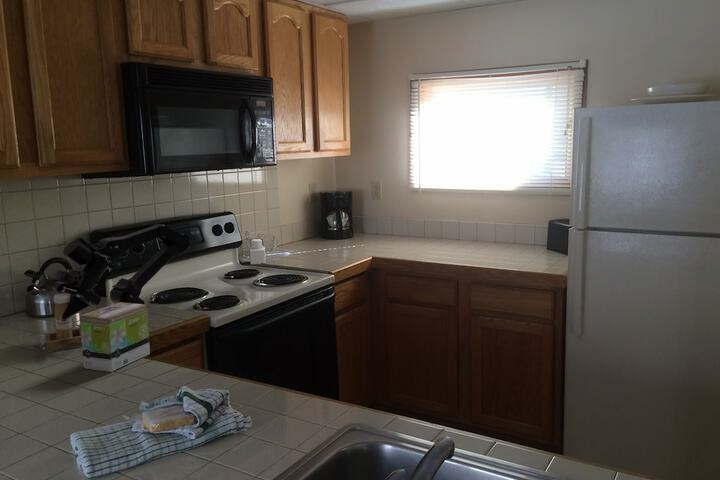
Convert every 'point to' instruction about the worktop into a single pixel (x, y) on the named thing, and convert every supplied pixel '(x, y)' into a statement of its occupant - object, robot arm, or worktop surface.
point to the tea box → (114, 336)
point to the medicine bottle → (257, 251)
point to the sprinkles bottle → (61, 325)
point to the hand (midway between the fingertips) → (58, 317)
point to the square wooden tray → (63, 341)
